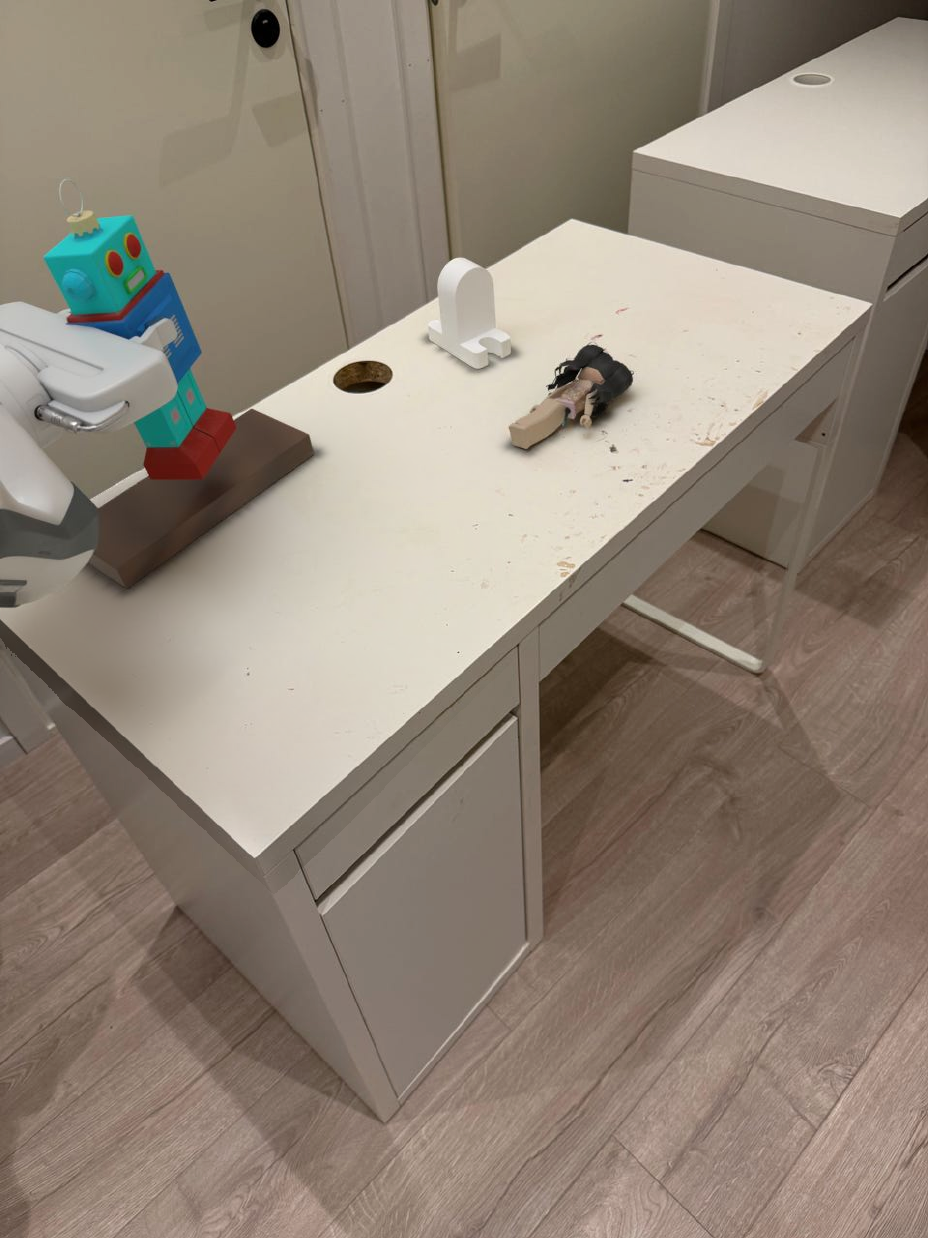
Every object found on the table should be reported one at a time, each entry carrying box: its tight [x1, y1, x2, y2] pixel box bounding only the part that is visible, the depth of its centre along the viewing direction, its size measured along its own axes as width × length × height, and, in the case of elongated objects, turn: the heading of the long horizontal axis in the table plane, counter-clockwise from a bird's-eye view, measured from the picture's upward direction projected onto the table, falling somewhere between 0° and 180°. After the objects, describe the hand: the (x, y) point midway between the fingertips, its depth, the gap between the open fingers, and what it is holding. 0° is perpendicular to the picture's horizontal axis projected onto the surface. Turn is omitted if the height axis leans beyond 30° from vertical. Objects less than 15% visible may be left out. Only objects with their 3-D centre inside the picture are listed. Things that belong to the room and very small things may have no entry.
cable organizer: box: [427, 257, 512, 370], centre depth 101 cm, size 5×10×10 cm, turn 37°
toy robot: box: [43, 178, 236, 480], centre depth 75 cm, size 12×6×25 cm, turn 168°
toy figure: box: [508, 341, 635, 450], centre depth 91 cm, size 7×6×15 cm
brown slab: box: [87, 408, 315, 590], centre depth 87 cm, size 24×9×2 cm, turn 141°
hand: (140, 315), depth 74 cm, fingers closed on toy robot, 6 cm apart
